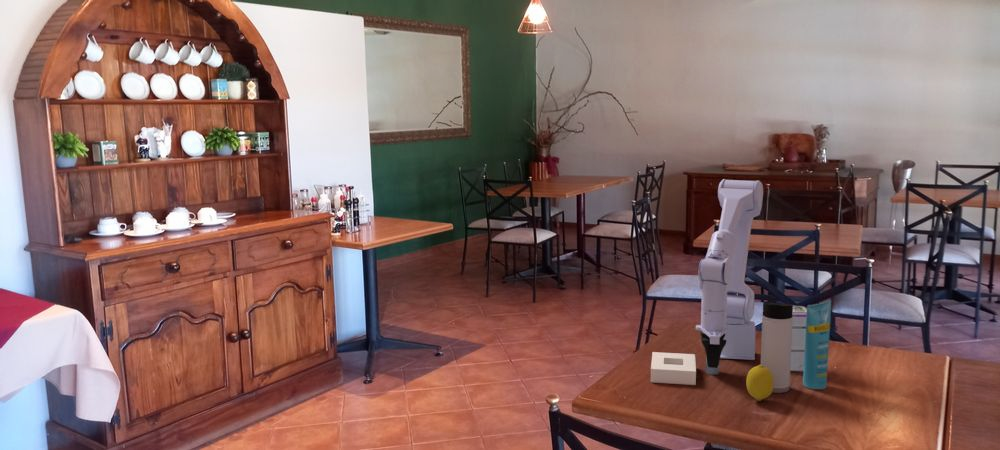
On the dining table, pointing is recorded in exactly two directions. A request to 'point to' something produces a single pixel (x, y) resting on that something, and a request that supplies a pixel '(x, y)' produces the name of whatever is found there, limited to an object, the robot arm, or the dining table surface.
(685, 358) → the bore block
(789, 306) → the travel mug
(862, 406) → the dining table surface
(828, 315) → the tube
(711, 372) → the dowel
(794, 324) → the syrup box
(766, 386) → the lemon
